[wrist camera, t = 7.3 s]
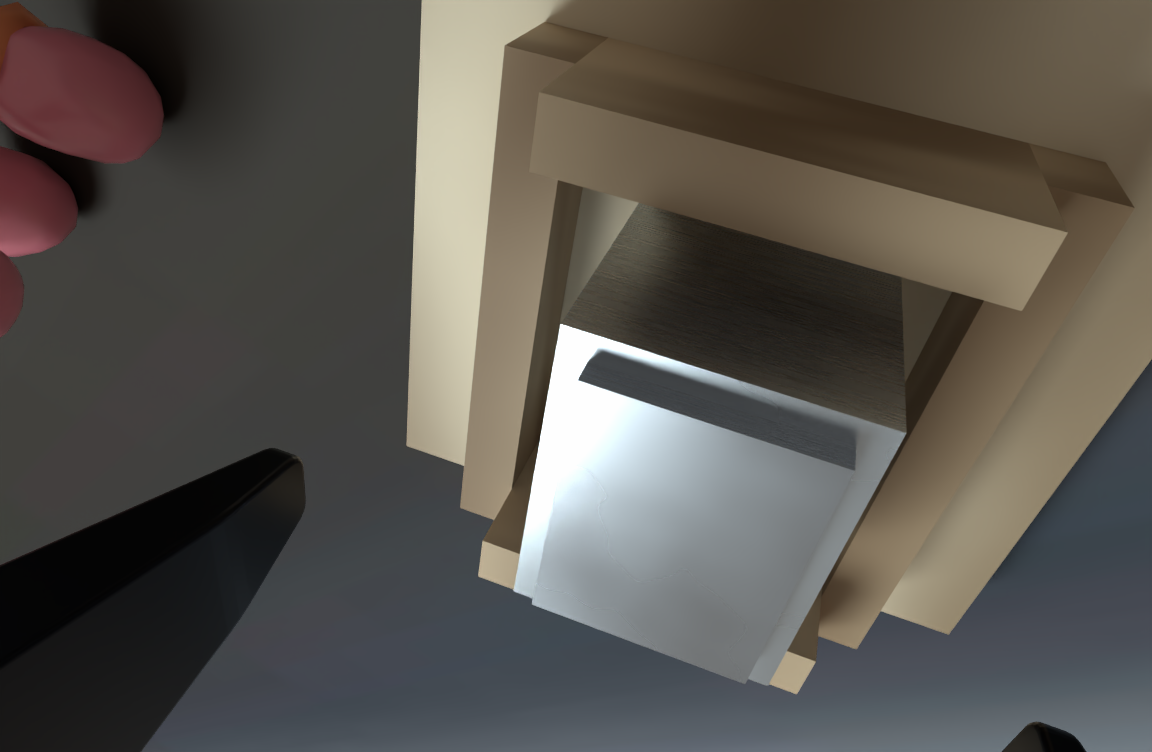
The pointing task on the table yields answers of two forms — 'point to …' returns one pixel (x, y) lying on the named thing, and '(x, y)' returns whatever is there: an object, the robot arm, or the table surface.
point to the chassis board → (801, 236)
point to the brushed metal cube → (711, 440)
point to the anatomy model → (60, 131)
